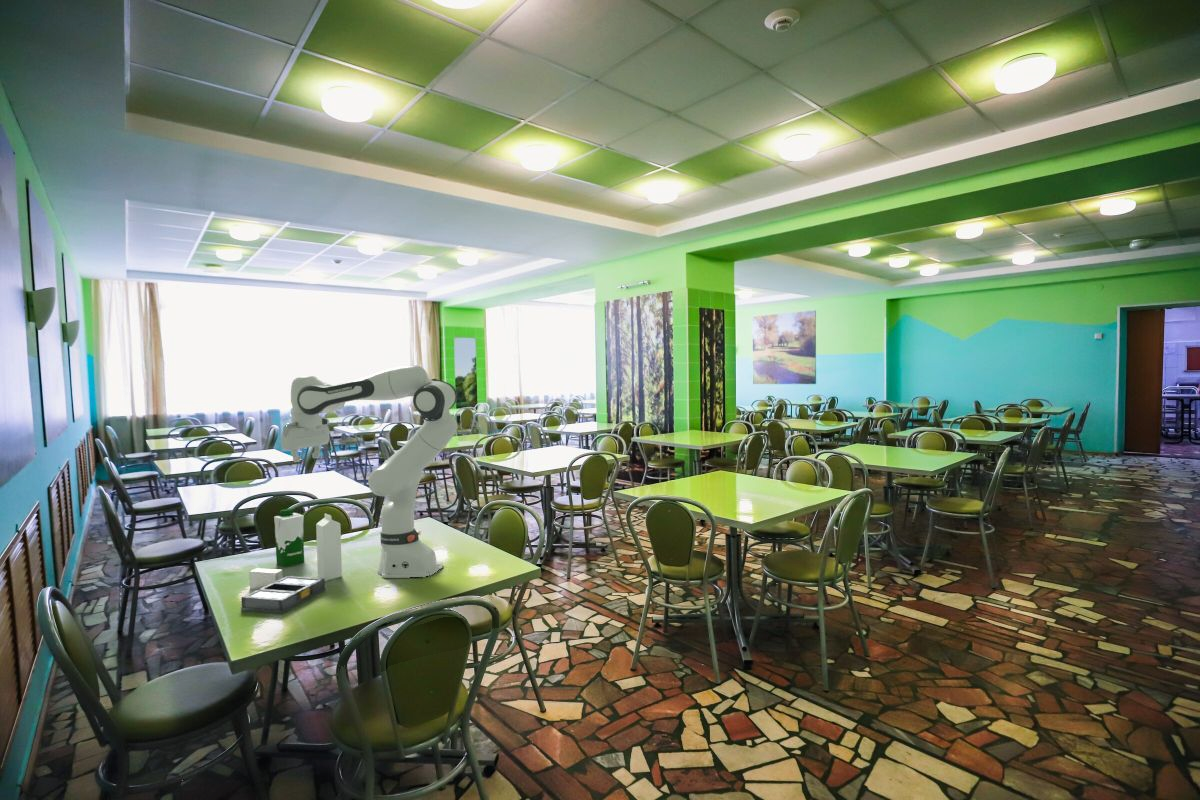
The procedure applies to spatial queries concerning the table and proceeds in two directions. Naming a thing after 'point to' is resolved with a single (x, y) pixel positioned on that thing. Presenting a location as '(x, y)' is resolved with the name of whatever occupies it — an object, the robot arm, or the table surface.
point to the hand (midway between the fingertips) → (306, 459)
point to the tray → (283, 594)
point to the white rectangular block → (264, 577)
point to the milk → (328, 548)
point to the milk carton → (289, 538)
